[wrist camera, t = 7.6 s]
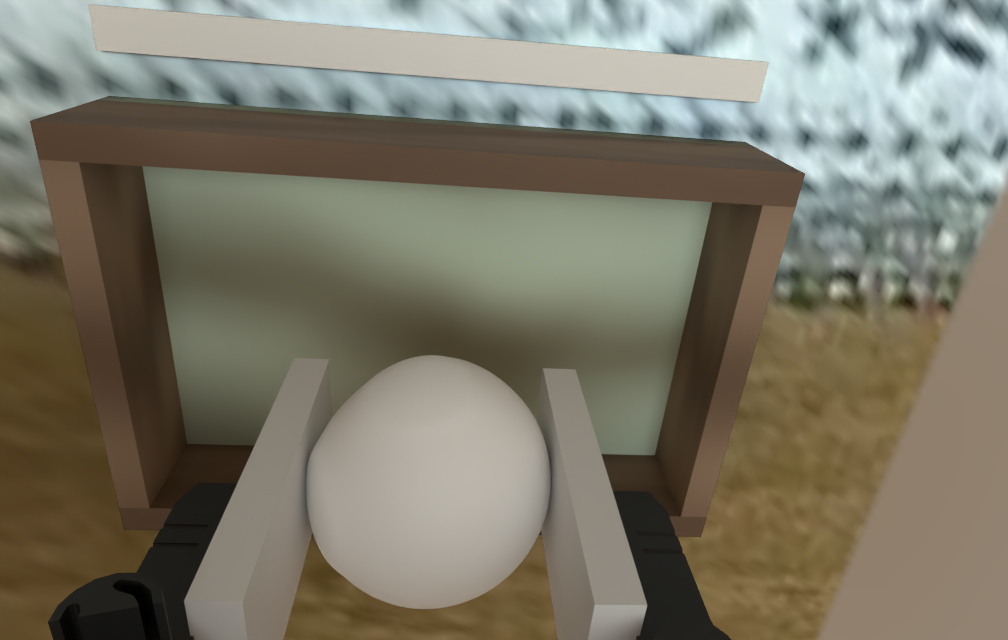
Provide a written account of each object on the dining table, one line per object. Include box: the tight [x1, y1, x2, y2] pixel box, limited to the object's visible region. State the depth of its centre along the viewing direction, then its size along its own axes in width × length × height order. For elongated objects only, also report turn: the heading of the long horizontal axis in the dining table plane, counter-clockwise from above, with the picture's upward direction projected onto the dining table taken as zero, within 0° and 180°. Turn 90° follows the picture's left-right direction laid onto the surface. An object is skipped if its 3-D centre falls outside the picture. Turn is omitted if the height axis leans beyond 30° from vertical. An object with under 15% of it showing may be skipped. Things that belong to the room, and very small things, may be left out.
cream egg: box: [306, 355, 551, 609], centre depth 13 cm, size 5×5×5 cm
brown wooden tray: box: [30, 96, 805, 537], centre depth 18 cm, size 11×17×4 cm, turn 85°
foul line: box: [88, 5, 769, 102], centre depth 17 cm, size 1×17×1 cm, turn 85°
